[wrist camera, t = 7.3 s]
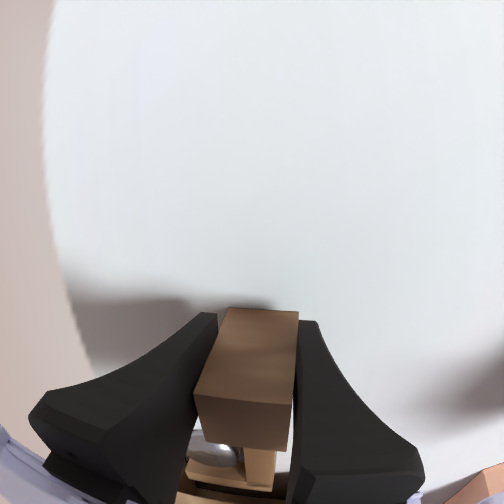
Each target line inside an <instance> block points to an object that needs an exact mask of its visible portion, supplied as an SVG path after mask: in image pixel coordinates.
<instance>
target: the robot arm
mask: <svg viewBox="0 0 504 504" xmlns="http://www.w3.org/2000/svg"><path fill="white" fill-rule="evenodd" d="M217 336H218V323H217V314H214V313H205V312H201V313H200V314H198V315H197V316H196V317H195V318H193V319H192V320H191V321H190V322H189V323H187V324H186V325H185V326H184V327H182V328H181V329H180V330H179V331H177V332H176V333H175V334H174V335H172V336H171V337H170V338H168V339H167V340H166V341H164V342H163V343H161V344H160V345H159V346H157V347H156V348H154V349H153V350H151V351H150V352H149V353H147V354H145V355H144V356H142V357H140V358H139V359H137V360H135V361H133V362H132V363H130V364H128V365H126V366H124V367H122V368H120V369H117V370H115V371H113V372H111V373H108V374H106V375H104V376H101V377H99V378H96V379H93V380H90V381H87V382H84V383H81V384H78V385H74V386H70V387H65V388H60V389H56V390H50V391H47V392H46V393H45V394H44V396H43V397H42V398H41V399H40V401H39V402H38V403H37V405H36V406H35V407H34V408H33V410H32V411H31V412H30V414H29V415H28V419H29V422H30V425H31V426H32V428H33V429H34V431H35V432H36V433H37V434H38V436H39V437H40V438H41V439H42V441H43V442H44V443H45V444H46V445H47V446H48V448H49V449H50V450H51V453H50V454H49V456H48V457H47V459H46V460H45V459H43V458H42V457H40V456H38V455H37V454H35V453H34V452H32V451H30V450H29V449H28V448H26V447H25V446H23V445H22V444H20V443H19V442H17V441H16V440H14V439H13V438H11V437H10V435H9V433H8V432H7V431H6V430H5V428H4V427H3V426H2V425H1V424H0V494H1V495H2V496H3V497H4V498H5V499H6V500H7V501H9V502H10V503H11V504H175V500H176V495H177V490H178V486H179V481H180V477H181V473H182V468H183V464H184V460H185V457H186V453H187V449H188V445H189V442H190V439H191V435H192V432H193V428H194V426H195V423H196V420H197V418H198V411H197V408H196V404H195V399H194V395H193V392H194V390H195V387H196V385H197V382H198V380H199V378H200V375H201V373H202V370H203V368H204V366H205V363H206V361H207V358H208V356H209V354H210V352H211V350H212V348H213V346H214V343H215V341H216V338H217ZM424 482H425V473H424V467H423V464H422V461H421V458H420V455H419V452H418V450H417V448H416V447H415V446H413V445H412V444H411V443H409V442H408V441H406V440H405V439H404V438H402V437H401V436H399V435H398V434H397V433H395V432H394V431H393V430H392V429H390V428H389V427H388V426H387V425H386V424H385V423H383V422H382V421H381V420H380V419H379V418H378V417H377V416H376V415H375V414H374V413H373V412H372V411H371V410H370V409H369V407H368V406H367V405H366V404H365V403H364V402H363V401H362V400H361V398H360V397H359V396H358V395H357V394H356V392H355V391H354V390H353V389H352V387H351V386H350V385H349V383H348V382H347V380H346V379H345V377H344V376H343V374H342V373H341V371H340V370H339V368H338V366H337V365H336V363H335V361H334V359H333V357H332V356H331V354H330V352H329V350H328V348H327V346H326V344H325V342H324V339H323V337H322V335H321V332H320V329H319V326H318V323H317V322H316V321H308V320H299V321H298V333H297V345H296V362H295V375H294V388H293V447H292V456H291V464H290V472H289V480H288V488H287V495H286V501H285V504H421V500H420V498H421V497H422V496H423V493H422V492H420V493H416V492H417V491H418V490H419V489H420V487H421V486H422V485H423V483H424ZM414 493H415V494H414ZM477 504H504V491H502V492H499V493H497V494H494V495H492V496H489V497H487V498H485V499H483V500H482V501H480V502H478V503H477Z"/></svg>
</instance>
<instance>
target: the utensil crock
mask: <svg viewBox="0 0 504 504" xmlns="http://www.w3.org/2000/svg"><path fill="white" fill-rule="evenodd" d="M502 491H504V463H501V464H498V465H495V466H493V467H490V468H487V469H483V470H482V471H481V472H480V473H479V474H478V475H477V476H476V477H475V478H474V479H472V480H471V481H470V482H469V483H468V484H467V485H466V486H465V487H463V488H462V489H461V490H460V491H459V492H458V493H456V494H455V495H454V496H453V497H451V498H450V499H449V500H448V501H446V502H445V503H444V504H477V503H478V502H480V501H482V500H483V499H485V498H487V497H489V496H492V495H494V494H497V493H499V492H502Z"/></svg>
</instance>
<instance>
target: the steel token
mask: <svg viewBox="0 0 504 504" xmlns="http://www.w3.org/2000/svg"><path fill="white" fill-rule="evenodd" d="M239 454H240V447H234V446H228V445H221V444H215V443H209V442H206V441H205V438H204V434H203V430H193V432H192V435H191V439H190V442H189V445H188V449H187V453H186V455H187V456H188V457H189V458H191V459H193V460H194V461H196V462H199V463H201V464H204V465H207V466H212V467H219V468H226V467H232V466H234V465H236V464H237V462H238V458H239Z"/></svg>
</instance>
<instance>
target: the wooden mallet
mask: <svg viewBox="0 0 504 504" xmlns="http://www.w3.org/2000/svg"><path fill="white" fill-rule="evenodd" d="M298 315H299V312H291V311H272V310H256V309H242V308H228V310H227V312H226V315H225V317H224V320H223V322H222V325H221V327H220V329H219V332H218V336H217V338H216V341H215V343H214V346H213V348H212V350H211V352H210V354H209V356H208V358H207V361H206V363H205V366H204V368H203V370H202V373H201V375H200V378H199V380H198V382H197V385H196V387H195V390H194V392H193V395H194V399H195V404H196V408H197V411H198V415H199V419H200V423H201V427H202V430H203V434H204V438H205V441H206V442H209V443H215V444H221V445H228V446H234V447H242V448H243V450H244V460H245V462H242V461H238V462H237V464H236V465H234V466H232V467H226V468H219V467H212V466H207V465H204V464H201V463H199V462H196V461H194V460H193V459H191V458H189V461H188V464H187V467H186V469H185V472H186V474H187V476H188V478H189V479H192V480H196V481H201V482H206V483H211V484H216V485H222V486H228V487H235V488H242V489H249V490H258V491H268V492H272V486H273V480H274V473H275V462H276V451H282V452H286V450H287V442H288V434H289V426H290V418H291V409H292V399H293V388H294V375H295V362H296V345H297V333H298Z"/></svg>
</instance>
